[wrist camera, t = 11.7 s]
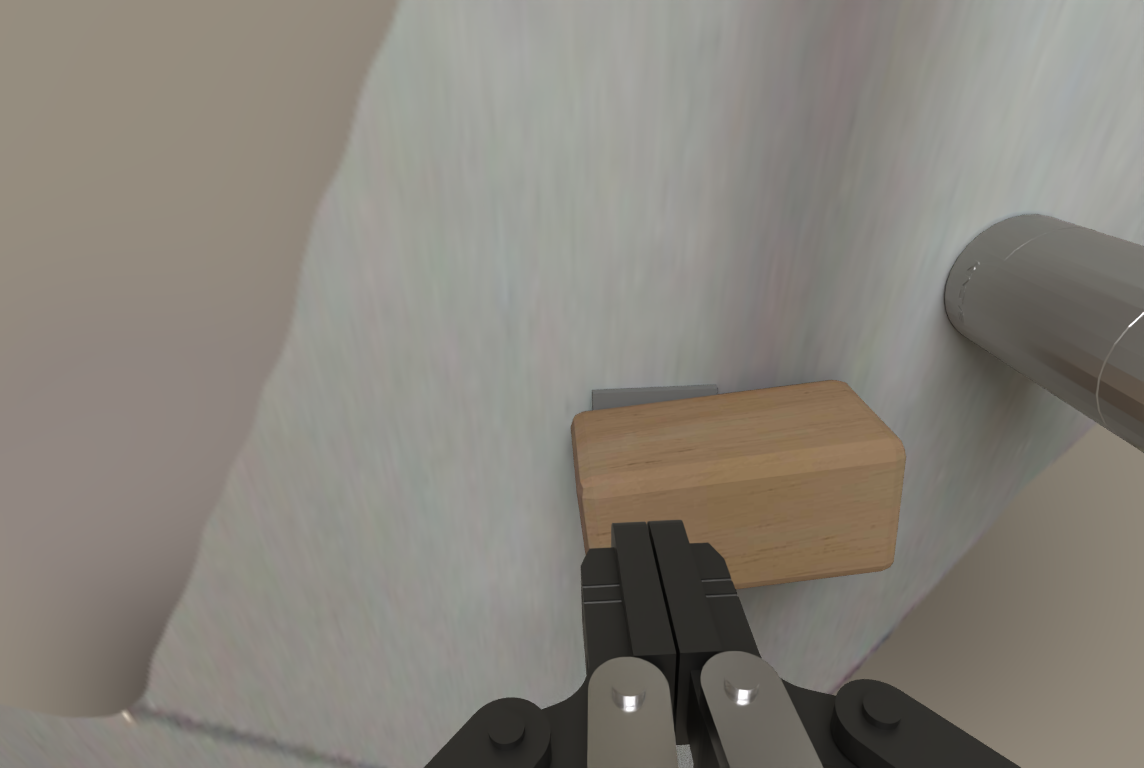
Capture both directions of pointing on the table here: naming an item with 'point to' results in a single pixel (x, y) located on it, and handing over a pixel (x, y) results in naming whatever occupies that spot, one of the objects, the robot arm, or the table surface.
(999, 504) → the table surface
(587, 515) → the block
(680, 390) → the mat
